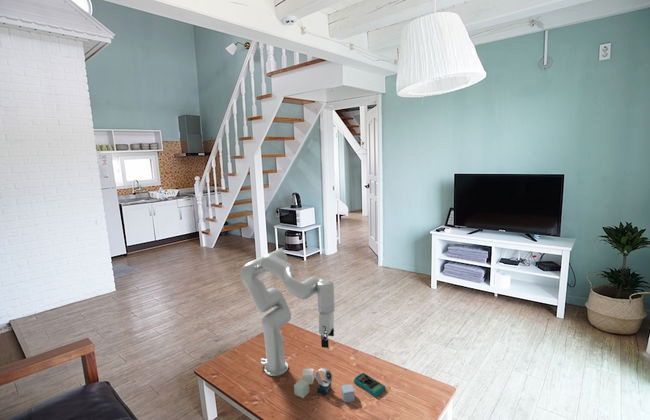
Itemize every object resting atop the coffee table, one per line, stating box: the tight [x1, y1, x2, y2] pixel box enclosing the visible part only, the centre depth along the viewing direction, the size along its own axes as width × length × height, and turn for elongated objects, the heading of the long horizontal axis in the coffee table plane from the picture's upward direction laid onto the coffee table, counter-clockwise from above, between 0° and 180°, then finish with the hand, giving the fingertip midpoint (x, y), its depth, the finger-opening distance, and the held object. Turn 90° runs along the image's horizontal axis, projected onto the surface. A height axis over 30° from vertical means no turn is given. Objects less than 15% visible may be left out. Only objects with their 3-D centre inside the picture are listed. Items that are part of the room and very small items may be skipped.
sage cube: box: [293, 378, 310, 399], centre depth 161 cm, size 5×5×5 cm
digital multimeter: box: [353, 372, 386, 398], centre depth 164 cm, size 7×15×3 cm, turn 40°
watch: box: [315, 367, 333, 397], centre depth 162 cm, size 6×8×11 cm
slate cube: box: [341, 383, 356, 403], centre depth 157 cm, size 5×5×5 cm
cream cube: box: [301, 368, 315, 385], centre depth 170 cm, size 5×5×5 cm
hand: (327, 341), depth 159 cm, fingers open, 9 cm apart
